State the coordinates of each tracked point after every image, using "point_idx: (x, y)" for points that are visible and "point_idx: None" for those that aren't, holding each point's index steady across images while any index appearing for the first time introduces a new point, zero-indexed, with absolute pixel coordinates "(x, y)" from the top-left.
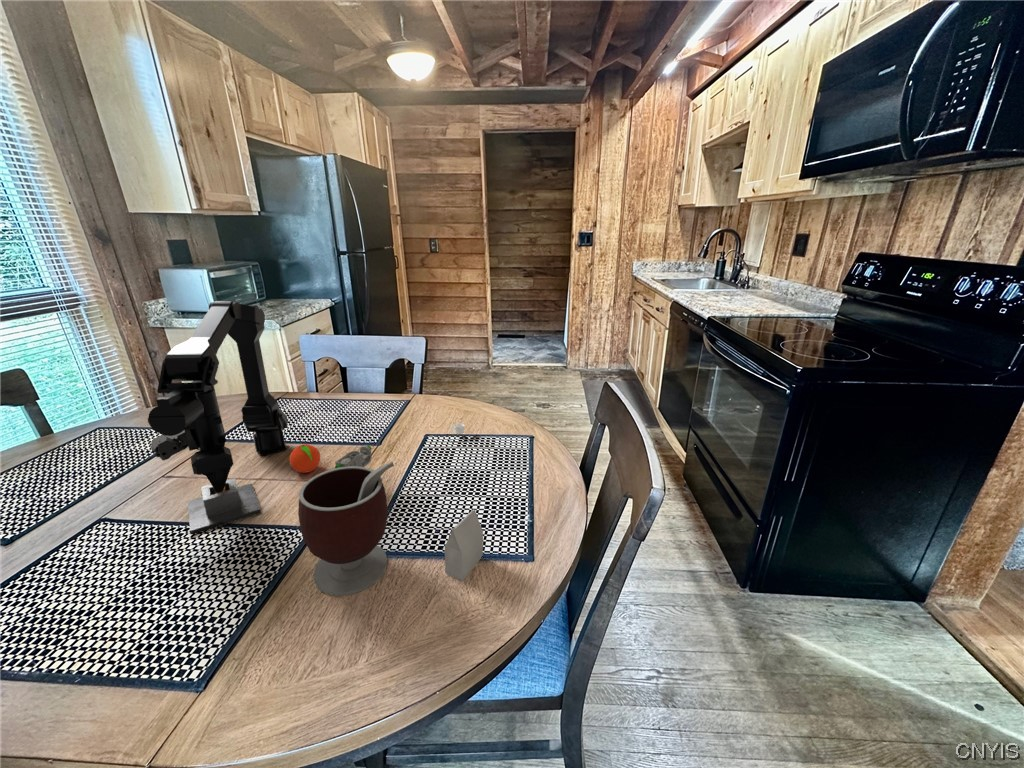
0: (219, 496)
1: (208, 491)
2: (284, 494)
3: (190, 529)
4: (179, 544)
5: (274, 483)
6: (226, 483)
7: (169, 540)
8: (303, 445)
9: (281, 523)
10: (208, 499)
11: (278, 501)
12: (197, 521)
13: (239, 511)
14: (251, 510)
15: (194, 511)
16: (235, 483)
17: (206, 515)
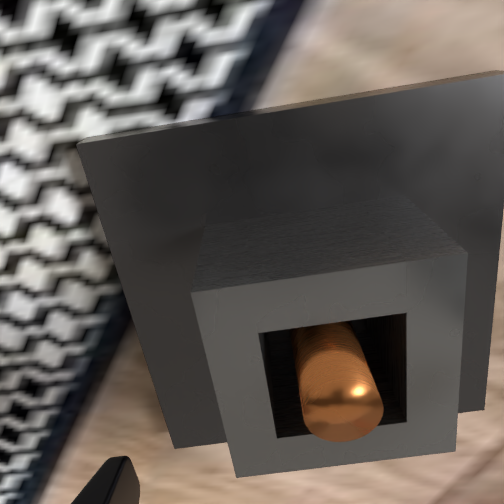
0: (214, 384)
1: (336, 314)
2: (301, 498)
3: (93, 144)
4: (5, 81)
5: (438, 467)
6: (405, 410)
7: (71, 7)
8: None
9: (57, 488)
10: (198, 323)
11: (250, 480)
12: (179, 174)
13: (194, 371)
14: (177, 417)
15: (323, 140)
16: (362, 459)
17: (230, 218)
